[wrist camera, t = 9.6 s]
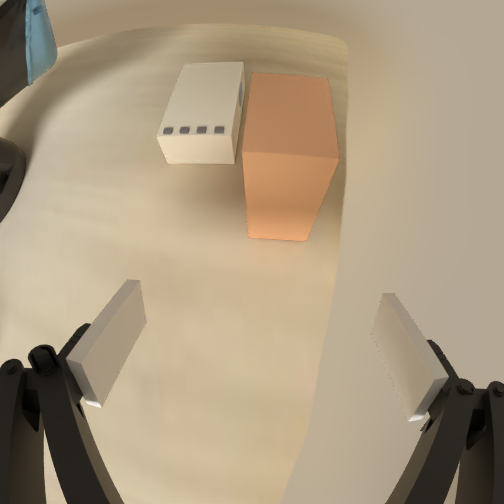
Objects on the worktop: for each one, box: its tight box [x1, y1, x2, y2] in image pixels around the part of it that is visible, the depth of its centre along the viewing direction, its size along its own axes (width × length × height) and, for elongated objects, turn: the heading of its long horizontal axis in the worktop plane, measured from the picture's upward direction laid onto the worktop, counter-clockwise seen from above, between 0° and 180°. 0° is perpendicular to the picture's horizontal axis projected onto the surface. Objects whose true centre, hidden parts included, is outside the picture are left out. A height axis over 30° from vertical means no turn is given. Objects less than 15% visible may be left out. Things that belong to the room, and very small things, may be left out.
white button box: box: [156, 62, 245, 164], centre depth 28 cm, size 7×12×5 cm, turn 176°
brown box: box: [242, 73, 339, 241], centre depth 21 cm, size 5×7×12 cm
